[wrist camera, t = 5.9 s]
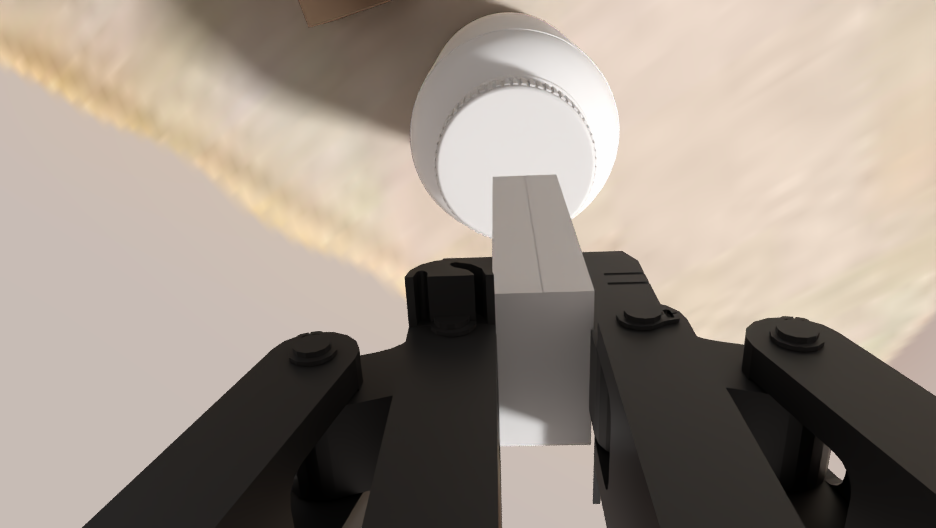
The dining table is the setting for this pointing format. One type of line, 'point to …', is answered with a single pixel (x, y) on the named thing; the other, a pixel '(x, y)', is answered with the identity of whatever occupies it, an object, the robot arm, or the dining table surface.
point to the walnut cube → (334, 9)
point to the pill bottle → (512, 117)
